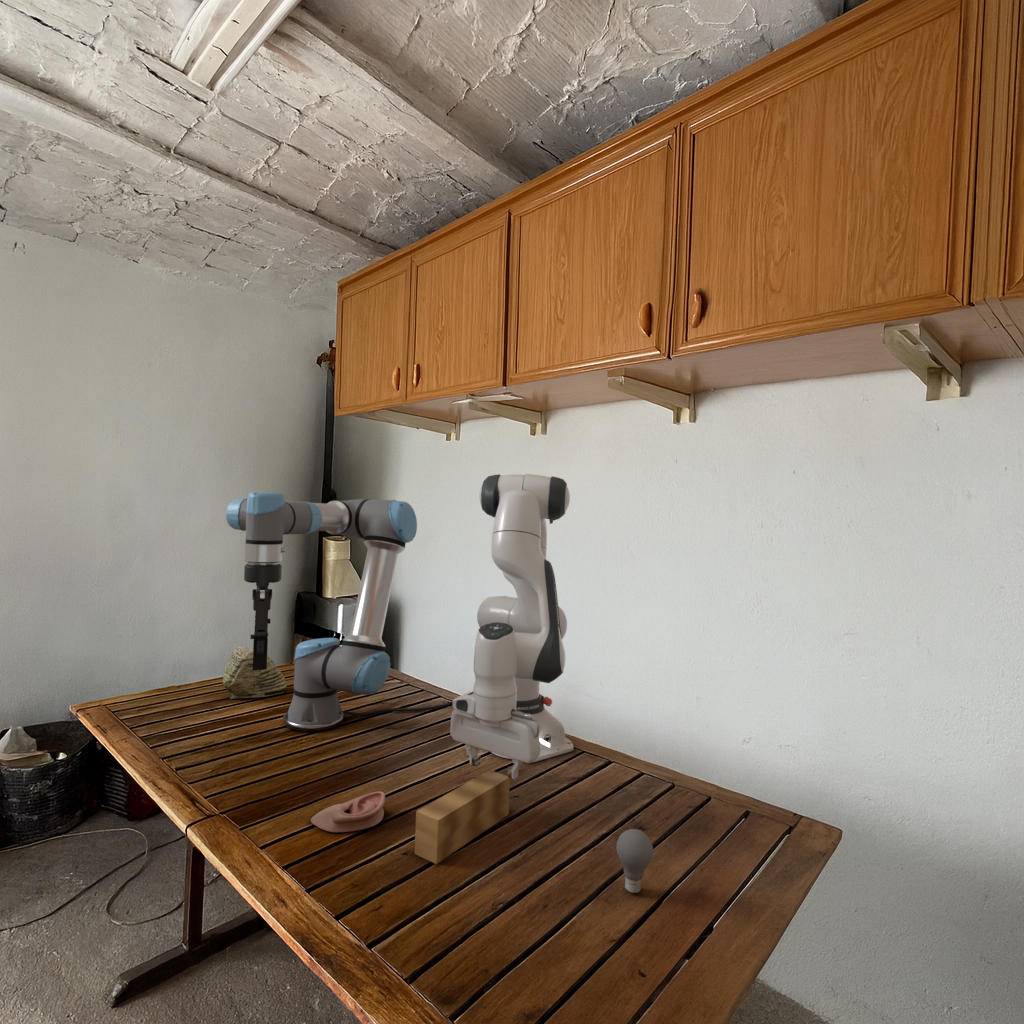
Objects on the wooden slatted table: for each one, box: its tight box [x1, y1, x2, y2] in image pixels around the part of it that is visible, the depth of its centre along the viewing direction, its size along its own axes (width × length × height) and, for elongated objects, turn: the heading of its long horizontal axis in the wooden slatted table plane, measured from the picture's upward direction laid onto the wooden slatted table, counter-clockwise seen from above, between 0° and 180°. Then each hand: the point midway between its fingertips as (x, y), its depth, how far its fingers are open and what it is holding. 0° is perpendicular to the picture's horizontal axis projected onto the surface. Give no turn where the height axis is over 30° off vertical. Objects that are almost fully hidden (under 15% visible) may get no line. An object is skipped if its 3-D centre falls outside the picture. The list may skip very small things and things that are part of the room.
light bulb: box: [615, 828, 654, 894], centre depth 106 cm, size 6×6×10 cm
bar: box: [414, 769, 511, 865], centre depth 122 cm, size 22×5×8 cm, turn 146°
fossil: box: [222, 646, 288, 699], centre depth 198 cm, size 9×18×15 cm, turn 132°
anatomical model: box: [310, 790, 386, 833], centre depth 125 cm, size 13×4×12 cm
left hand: (259, 661), depth 137 cm, fingers open, 13 cm apart
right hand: (493, 771), depth 129 cm, fingers open, 8 cm apart
